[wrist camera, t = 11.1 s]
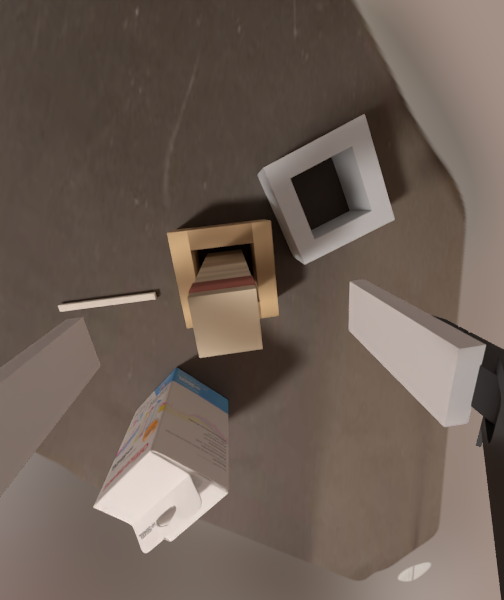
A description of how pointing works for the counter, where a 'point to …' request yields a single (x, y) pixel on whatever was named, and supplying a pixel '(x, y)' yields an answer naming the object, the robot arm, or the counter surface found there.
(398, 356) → the robot arm
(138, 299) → the thin white stick
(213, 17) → the counter surface
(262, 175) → the grey square frame
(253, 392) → the counter surface
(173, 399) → the ink box
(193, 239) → the wooden square frame
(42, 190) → the counter surface
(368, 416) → the counter surface
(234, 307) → the red-banded tall box
